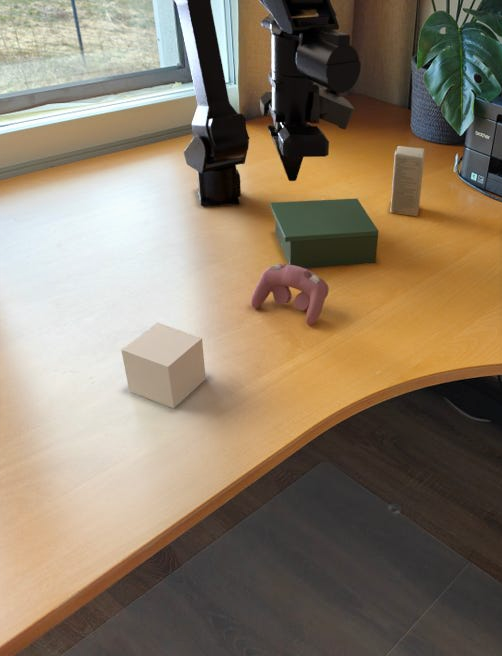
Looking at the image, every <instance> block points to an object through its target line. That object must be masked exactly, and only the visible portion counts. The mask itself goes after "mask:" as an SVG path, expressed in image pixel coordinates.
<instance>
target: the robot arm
mask: <svg viewBox="0 0 502 656" xmlns="http://www.w3.org/2000/svg"><path fill="white" fill-rule="evenodd" d="M258 1H259V2H260V3H261V4H262V6H263V7H264V8H265V9H266V10H267V11H268V13H269V14H268V15H267V16H265V18H263V20H261V22H260V25H261V27H262V28H264V29H268V30H270V55H271V56H270V58H271V60H270V61H271V62H270V63H271V71H270V72H268V82H269V83H270V85H271V91H266V92H264V93H263V95H261V96H260V97H259V110H260V113H261V115H262V117H268V114H270V116H271V118H272V120H273V123H272V124H269V125H268V126H267V130H268V132H269V135H270V137H271V139H272V142H273V145H274V146H275V150H276V153H277V155H278V157H279V160H280V162H281V164H282V166H283V169H284V172H285V175H286V177H287V180H288V181H289V182H296V181H297V179H298V175H299V173H300V170H301V167H302V164H303V160H304V158H323V157H327V156H329V152H330V141H329V139H328V138H327V136H326V135H325V133H324V132H323V131H322V130H321V128H319V127H318V125H319V124H320V120H322V121H324V122H327V123H330V124H332V125H335V126H337V127H338V128H339V129H341V130H347V128H348V126H349V123H350V121H351V118H352V117H353V114H354V111H355V107H354V106H353V105H352V104H351V102H350V101H349V100H347V99H346V98H345V97H344V96H342V95H341V96H340V94H344V93H346V92H348V91H350V90H351V89H352V88H353V87H354V86H355V85H356V83H357V82H358V79H359V77H360V74H361V69H362V63H361V61H360V56H359V54H358V51H357V50H356V48H355V47H353V46H352V45H351V35H350V34H349V33H346V32H342V31H341V32H340V31H338V30H339V29H340V25H339V22H338V20H337V14H336V11H335V9H334V7H333V5H332V2H331V0H258ZM174 2H175V3H176V7H177V11H178V16H179V21H180V27H181V31H182V36H183V40H184V45H185V50H186V55H187V59H188V65H189V69H190V74H191V78H192V79H191V80H192V83H193V84H192V85H193V89H194V93H195V97H196V104H197V106H196V109H195V113H194V116H193V119H192V122H191V131H192V139H191V141H190V142H189V144H187V146H186V147H185V149H184V150H183V156H184V159H185V163H186V166H189V167H190V168H192V169H194V170H195V171H196V179H197V189H196V193H197V196H198V199H199V203H200V206H201V207H216V206H217V207H218V206H238V205H239V206H240V204H241V201H240V198H241V197H242V191H241V189H242V187H241V174H240V171H239V170H238V168H237V166H238V165H245V164H246V159H247V155H248V151H249V146H250V136H249V133H248V129H247V123H246V122H247V121H246V117H245V115H244V114H243V113H238V111H237V110H236V109H235V108H234V106H232V104H231V102H230V99H229V93H228V88H227V82H226V77H225V71H224V67H223V62H222V61H223V60H222V56H221V55H222V54H221V50H220V45H219V39H218V34H217V29H216V24H215V18H214V13H213V8H212V0H174ZM320 86H321V87H320ZM312 124H313V125H312ZM314 124H315V125H314ZM316 124H318V125H316Z"/></svg>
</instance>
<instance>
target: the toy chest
mask: <svg viewBox="0 0 502 656" xmlns="http://www.w3.org/2000/svg"><path fill="white" fill-rule="evenodd" d="M274 222H275V223H274V225H275V227H274V229H275V231H274V232H275V233H274V234H275V237H276V239H277V241H278V244H279V245H280V248H281V250H282V253H283V255H284V258H285V261H286V262H287V265H294V266H299V267H302V268H305V269H307V270H309V269H319V268H320V269H321V268H331V267H332V268H333V267H343V266H356V265H369V264H376V263H377V254H378V253H377V252H378V245H379V244H378V241H379V235H378V236H364V237H350V238H335V239H320V240H306V241H291V242H285V240H284V238H283V236H282V233H281V231H280V229H279V226H278V224H277V222H276V219H275V218H274Z"/></svg>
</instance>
